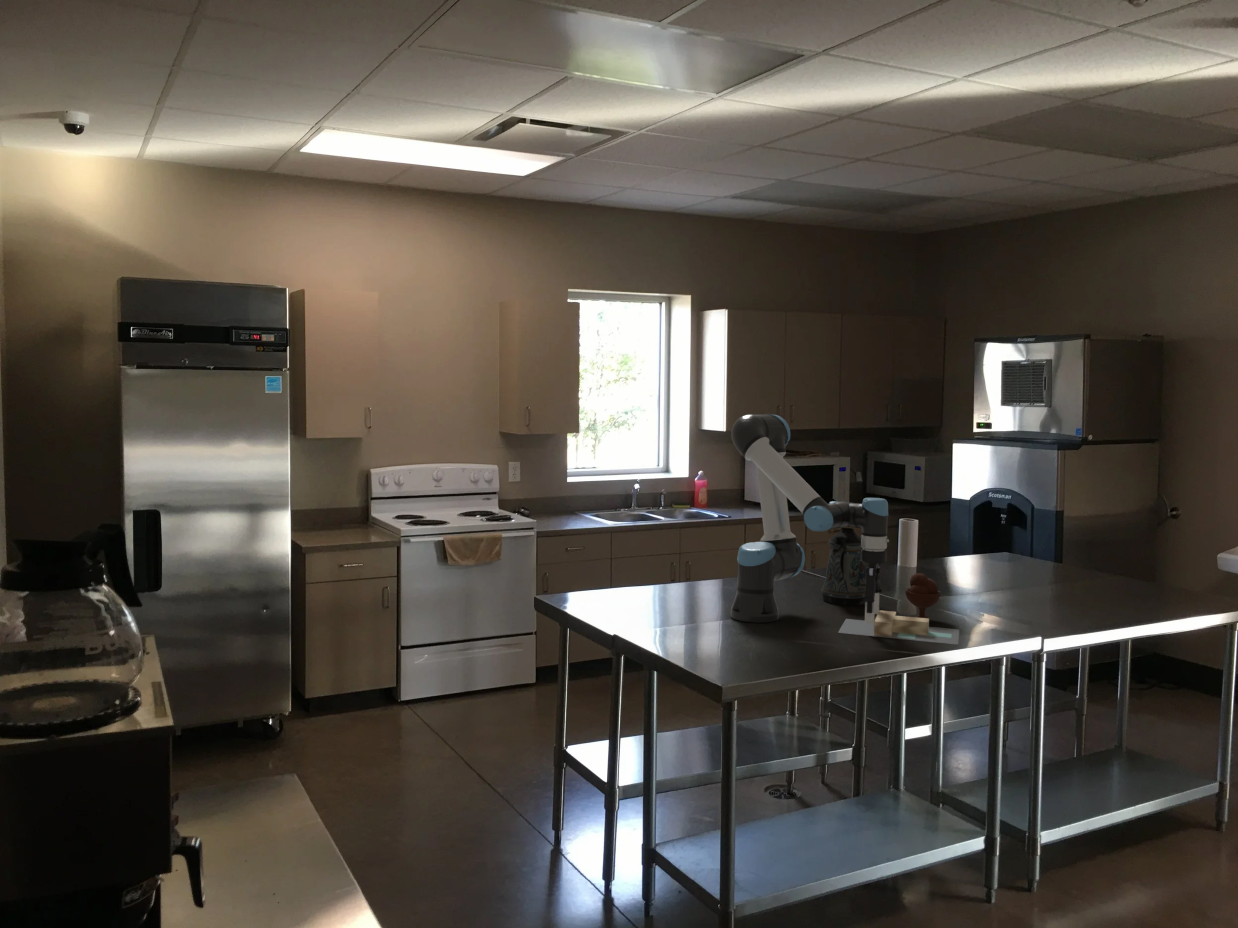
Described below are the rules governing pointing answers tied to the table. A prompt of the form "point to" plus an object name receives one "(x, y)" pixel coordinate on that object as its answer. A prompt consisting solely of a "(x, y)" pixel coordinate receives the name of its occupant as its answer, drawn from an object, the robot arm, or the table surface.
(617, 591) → the table surface
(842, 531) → the beer stein
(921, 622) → the t block
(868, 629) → the push board
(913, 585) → the ice cream bowl
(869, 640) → the table surface
